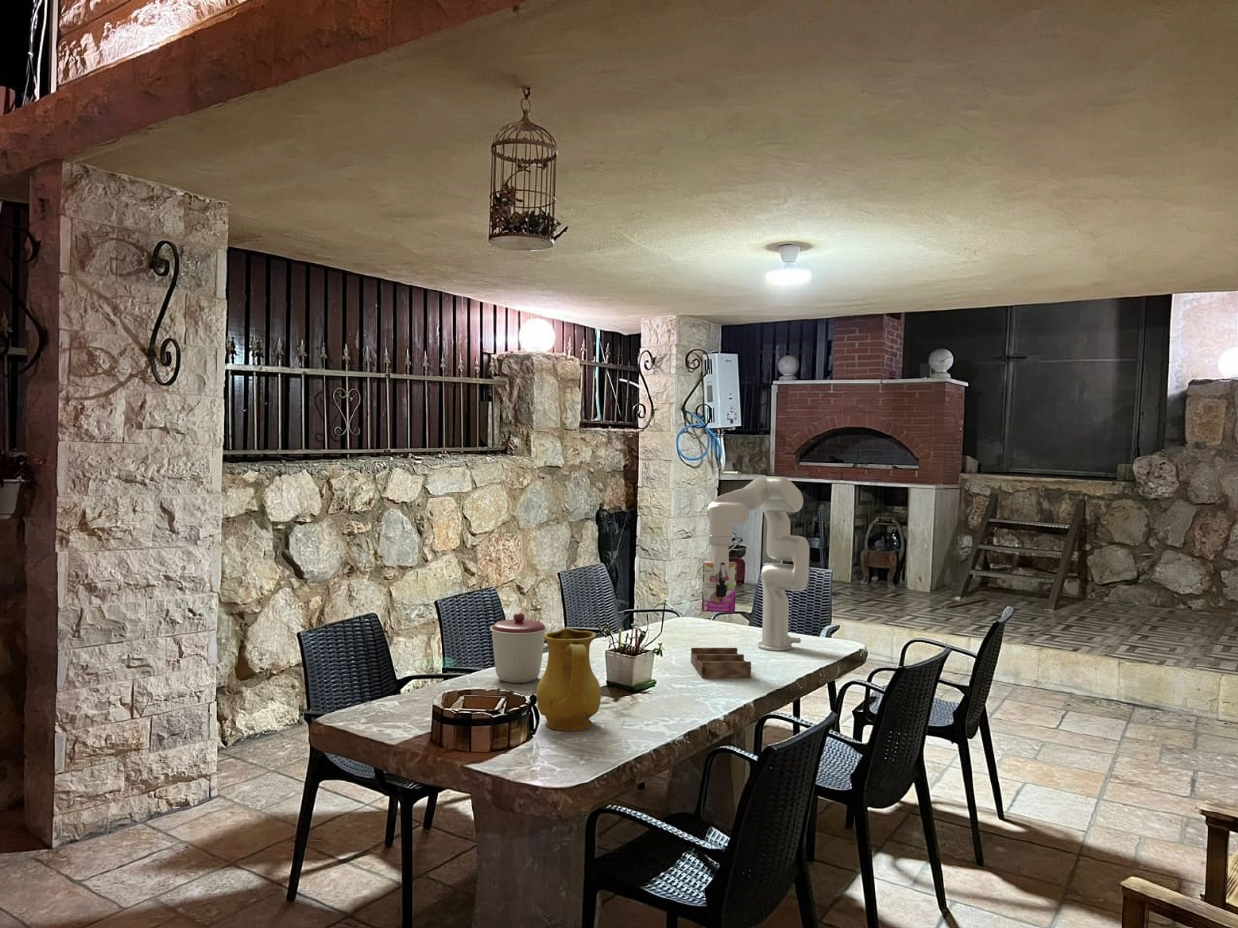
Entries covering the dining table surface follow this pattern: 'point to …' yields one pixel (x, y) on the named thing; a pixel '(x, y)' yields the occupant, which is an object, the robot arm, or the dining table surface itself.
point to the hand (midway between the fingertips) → (719, 594)
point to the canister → (518, 648)
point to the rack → (720, 663)
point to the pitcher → (568, 682)
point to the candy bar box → (709, 590)
